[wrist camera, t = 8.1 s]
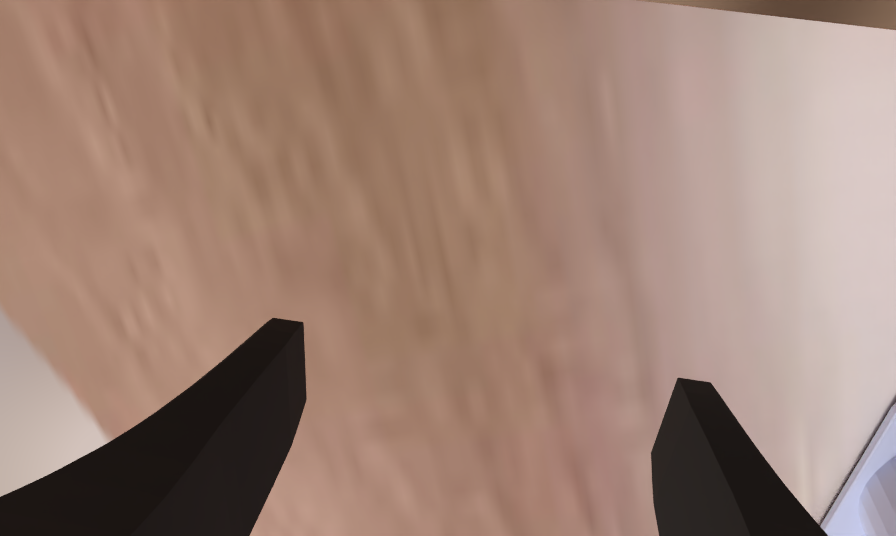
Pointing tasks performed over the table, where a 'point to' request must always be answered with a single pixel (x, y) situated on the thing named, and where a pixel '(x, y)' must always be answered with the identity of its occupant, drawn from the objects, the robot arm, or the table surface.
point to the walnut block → (809, 10)
